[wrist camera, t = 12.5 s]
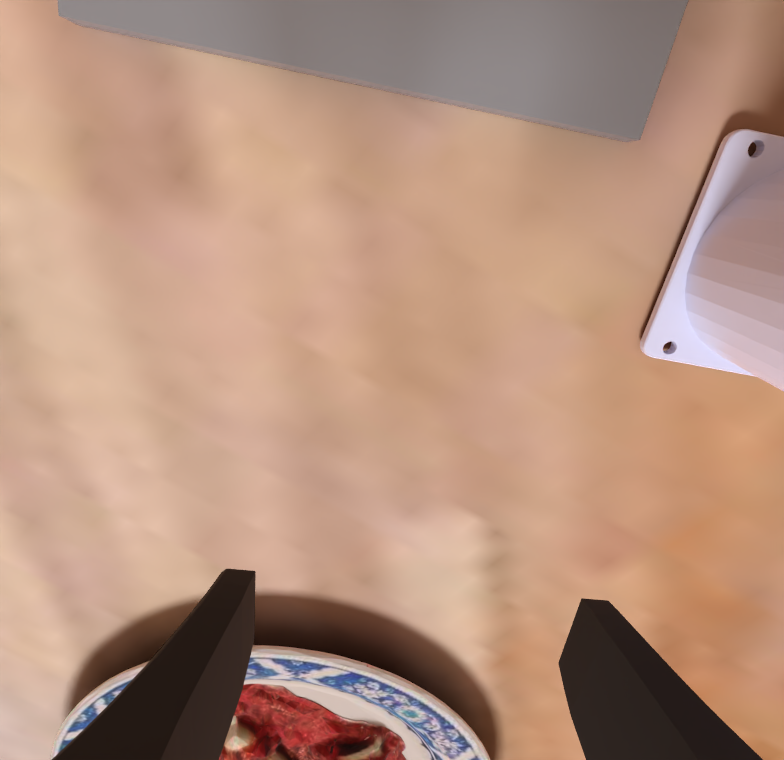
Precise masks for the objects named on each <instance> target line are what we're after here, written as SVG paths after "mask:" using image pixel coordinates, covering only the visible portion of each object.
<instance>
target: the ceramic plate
mask: <svg viewBox="0 0 784 760" xmlns="http://www.w3.org/2000/svg"><path fill="white" fill-rule="evenodd" d="M148 662H149V661H148ZM148 662H145V663H143V664H140V665H138V666H135V667H133V668H130V669H127V670H125V671H123V672H121V673H120V674H118V675H116V676H114V677H112V678H110V679H108V680H107V681H105V682H104V683H102V684H101V685H99V686H98V687H97V688H95V689H94V690H92V691H91V692H90V693H89V694H88V695H87V696H86V697H84V698H83V699H82V700H81V701H80V702H79V703H78V704H77V705H76V707H75V708H74V709H73V710H72V711H71V712H70V714H69V715H68V716H67V717H66V719H65V721H64V722H63V724H62V725H61V727H60V729H59V731H58V733H57V736H56V738H55V740H54V743H53V748H52V752H51V760H52V759H53V758H54V757H55V756H56V755H57V754H58V753H59V752H60V751H61V750H62V749H63V748H64V747H66V746H67V745H68V744H69V743H70V742H71V741H72V740H73V739H74V738H75V737H76V736H77V735H78V734H79V733H80V732H81V731H82V730H83V729H85V728H86V727H87V726H88V725H89V724H90V723H91V722H92V721H93V720H94V719H95V718H96V717H97V716H98V715H99V714H100V713H101V712H102V711H103V710H104V709H105V708H106V707H107V706H108V705H109V704H110V703H111V702H112V701H113V700H114V699H115V697H116V696H117V695H118V694H119V693H120V692H121V691H122V690H123V689H124V688H125V687H126V686H127V685H128V684H129V683H130V682H131V680H132V679H133V678H134V677H135V676H136V675H137V674H138V673H139V672H140V671H141V670H142V669H143V668H144V667H145V666H146V665H147V663H148ZM219 760H490V757H489V755H488V753H487V751H486V749H485V747H484V746H483V744H482V742H481V741H480V739H479V738H478V737H477V735H476V734H475V732H474V731H473V730H472V728H471V727H470V726H469V725H468V724H467V723H466V722H465V721H464V720H463V719H462V718H461V717H460V716H459V715H458V714H457V713H456V712H454V711H453V710H452V709H451V708H450V707H449V706H447V705H446V704H445V703H444V702H442V701H441V700H439V699H438V698H436V697H435V696H434V695H432V694H431V693H429V692H428V691H426V690H424V689H422V688H421V687H419V686H417V685H415V684H414V683H412V682H410V681H408V680H406V679H404V678H402V677H400V676H397V675H395V674H393V673H391V672H388V671H386V670H383V669H380V668H378V667H375V666H372V665H370V664H367V663H363V662H360V661H356V660H353V659H350V658H346V657H343V656H339V655H335V654H330V653H325V652H320V651H313V650H307V649H300V648H293V647H283V646H267V645H253V647H252V652H251V656H250V660H249V664H248V669H247V673H246V677H245V681H244V685H243V689H242V693H241V696H240V699H239V702H238V705H237V708H236V711H235V714H234V716H233V719H232V722H231V725H230V728H229V731H228V734H227V737H226V740H225V743H224V746H223V749H222V752H221V755H220V757H219Z"/></svg>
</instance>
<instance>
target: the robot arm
mask: <svg viewBox="0 0 784 760" xmlns="http://www.w3.org/2000/svg"><path fill="white" fill-rule="evenodd" d="M752 142H755V144H756V151H755V153H754V154H753V155H752V156H751V157H750V156H749V155H748V147H749V146H750V144H751V143H752ZM667 342H672V343H671V347H670V348H669V349H668V350H666V351H663V346H664V345H665V344H666V343H667ZM640 348H641V350H642V352H643V353H645V354H646V355H647V356H650V357H653V358H658V359H664V360H669V361H674V362H680V363H685V364H691V365H696V366H702V367H707V368H713V369H718V370H724V371H729V372H734V373H740V374H745V375H751V376H756V377H759V378H760V379H762V380H764V381H766V382H768V383H769V384H771V385H773V386H775V387H777V388H778V389H780V390H782V391H784V137H782V136H777V135H773V134H768V133H764V132H759V131H754V130H750V129H739V130H735V131H732V132H730V133H729V134H728V135H726V136H725V137H724V139H723V141H722V142H721V144H720V147H719V149H718V152H717V154H716V156H715V159H714V161H713V164H712V166H711V169H710V171H709V174H708V176H707V179H706V181H705V184H704V186H703V188H702V191H701V193H700V196H699V198H698V201H697V203H696V206H695V208H694V211H693V213H692V216H691V218H690V220H689V223H688V225H687V228H686V230H685V233H684V235H683V238H682V240H681V243H680V245H679V248H678V250H677V252H676V255H675V257H674V260H673V262H672V265H671V267H670V270H669V272H668V275H667V277H666V280H665V282H664V284H663V287H662V289H661V292H660V294H659V297H658V299H657V302H656V304H655V307H654V309H653V312H652V314H651V317H650V319H649V321H648V324H647V326H646V329H645V331H644V334H643V336H642V339H641V342H640ZM254 626H255V571H248V570H236V569H226V570H224V571H223V572H221V574H220V575H219V577H218V578H217V579H216V581H215V582H214V584H213V585H212V586H211V588H210V589H209V590H208V591H207V593H206V594H205V595H204V597H203V598H202V599H201V601H200V602H199V603H198V604H197V606H196V607H195V608H194V609H193V611H192V612H191V613H190V614H189V616H188V617H187V618H186V619H185V621H184V622H183V623H182V624H181V625H180V627H179V628H178V629H177V630H176V631H175V632H174V634H173V635H172V636H171V637H170V638H169V639H168V641H167V642H166V643H165V644H164V645H163V646H162V647H161V649H160V650H159V651H158V652H157V653H156V654H155V656H154V657H153V658H152V659H151V660H150V661H149V662H148V663H147V665H146V666H145V667H144V668H143V669H142V670H141V671H140V672H139V673H138V674H137V675H136V676H135V677H134V678H133V679H132V680H131V682H130V683H129V684H128V685H127V686H126V687H125V688H124V689H123V690H122V691H121V692H120V693H119V694H118V695H117V696H116V697H115V699H114V700H113V701H112V702H111V703H110V704H109V705H108V706H107V707H106V708H105V709H104V710H103V711H102V712H101V713H100V714H99V715H98V716H97V717H96V718H95V719H94V720H93V721H92V722H91V723H90V724H89V725H88V726H87V727H86V728H85V729H83V730H82V731H81V732H80V733H79V734H78V735H77V736H76V737H75V738H74V739H73V740H72V741H71V742H70V743H69V744H68V745H67V746H66V747H64V748H63V749H62V750H61V751H60V752H59V753H58V754H57V755H56V756H55V757H54V758H53V759H52V760H219V757H220V755H221V752H222V749H223V746H224V743H225V740H226V737H227V734H228V731H229V728H230V725H231V722H232V719H233V716H234V714H235V711H236V708H237V705H238V702H239V699H240V696H241V693H242V689H243V685H244V681H245V677H246V673H247V669H248V664H249V660H250V656H251V652H252V647H253V643H254ZM559 667H560V672H561V676H562V681H563V685H564V690H565V694H566V698H567V702H568V706H569V710H570V714H571V717H572V720H573V723H574V726H575V729H576V732H577V735H578V738H579V740H580V743H581V746H582V749H583V752H584V755H585V758H586V760H763V759H762V758H761V757H760V756H759V755H757V754H756V753H755V752H754V751H753V750H752V749H751V748H750V747H749V746H748V745H747V744H746V743H745V742H744V741H743V740H742V739H741V738H740V737H739V736H738V735H737V734H736V733H735V732H734V731H733V730H732V729H731V728H729V727H728V726H727V725H726V724H725V723H724V722H723V721H722V720H721V719H720V718H719V717H718V716H717V715H716V714H715V713H714V712H713V711H712V710H711V709H710V708H709V707H708V706H707V705H706V704H705V703H704V702H703V701H702V700H701V699H700V698H699V697H698V696H697V694H696V693H695V692H694V691H693V690H692V689H691V688H690V687H689V686H688V685H687V684H686V683H685V682H684V681H683V680H682V679H681V678H680V677H679V676H678V675H677V674H676V673H675V672H674V670H673V669H672V668H671V667H670V666H669V665H668V664H667V663H666V662H665V661H664V660H663V659H662V658H661V657H660V656H659V654H658V653H657V652H656V651H655V650H654V649H653V648H652V647H651V646H650V645H649V644H648V643H647V642H646V640H645V639H644V638H643V637H642V636H641V635H640V634H639V633H638V632H637V631H636V630H635V629H634V627H633V626H632V625H631V624H630V623H629V622H628V621H627V620H626V619H625V618H624V617H623V616H622V615H621V614H620V612H619V611H618V610H617V609H616V608H615V607H614V606H613V605H612V604H611V603H610V602H609V601H605V600H593V599H581V602H580V604H579V607H578V610H577V613H576V616H575V618H574V621H573V624H572V627H571V629H570V632H569V635H568V638H567V641H566V643H565V646H564V649H563V652H562V655H561V657H560V660H559Z"/></svg>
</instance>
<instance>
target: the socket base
mask: <svg viewBox="0 0 784 760" xmlns="http://www.w3.org/2000/svg"><path fill="white" fill-rule="evenodd" d="M687 3H688V0H58V12H59V16H61V17H63V18H65V19H67V20H69V21H71V22H73V23H75V24H77V25H80V26H84V27H89V28H94V29H98V30H103V31H108V32H112V33H117V34H122V35H127V36H131V37H136V38H141V39H145V40H150V41H155V42H159V43H164V44H169V45H173V46H178V47H183V48H187V49H192V50H197V51H202V52H206V53H211V54H216V55H220V56H225V57H230V58H234V59H239V60H244V61H248V62H253V63H258V64H262V65H267V66H272V67H277V68H281V69H286V70H291V71H295V72H300V73H305V74H309V75H314V76H319V77H323V78H328V79H333V80H337V81H342V82H347V83H352V84H356V85H361V86H366V87H370V88H375V89H380V90H384V91H389V92H394V93H398V94H403V95H408V96H413V97H417V98H422V99H427V100H431V101H436V102H441V103H445V104H450V105H455V106H459V107H464V108H469V109H473V110H478V111H483V112H488V113H492V114H497V115H502V116H506V117H511V118H516V119H520V120H525V121H530V122H534V123H539V124H544V125H548V126H553V127H558V128H563V129H567V130H572V131H577V132H581V133H586V134H591V135H595V136H600V137H605V138H609V139H614V140H619V141H623V142H630V141H636V140H640V138H641V136H642V133H643V130H644V127H645V124H646V121H647V118H648V115H649V112H650V110H651V107H652V104H653V101H654V98H655V95H656V92H657V89H658V87H659V84H660V81H661V78H662V75H663V72H664V69H665V66H666V63H667V61H668V58H669V55H670V52H671V49H672V46H673V43H674V40H675V37H676V35H677V32H678V29H679V26H680V23H681V20H682V17H683V14H684V11H685V9H686V6H687Z"/></svg>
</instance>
